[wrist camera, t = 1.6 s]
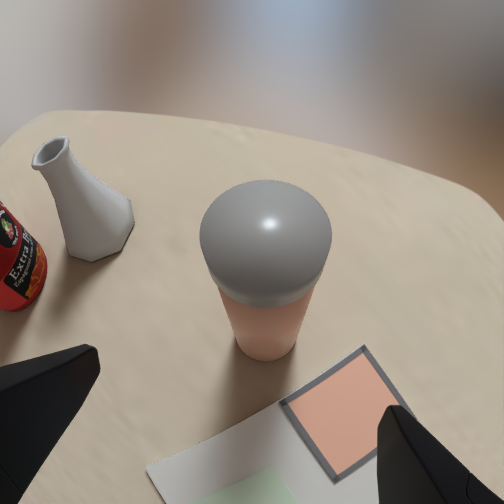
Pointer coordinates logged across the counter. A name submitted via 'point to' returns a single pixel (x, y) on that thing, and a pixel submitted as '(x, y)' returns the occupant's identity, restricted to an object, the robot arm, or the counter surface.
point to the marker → (265, 261)
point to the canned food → (19, 264)
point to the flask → (83, 203)
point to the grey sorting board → (292, 445)
